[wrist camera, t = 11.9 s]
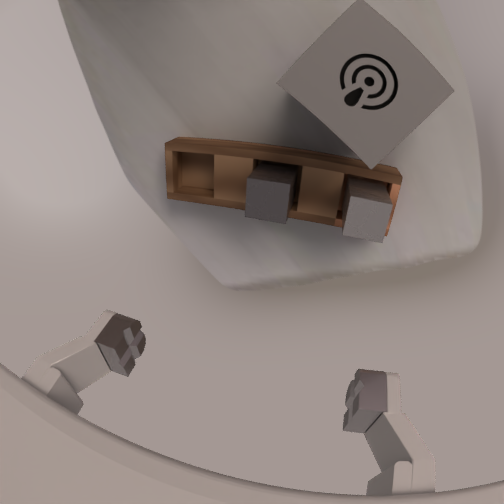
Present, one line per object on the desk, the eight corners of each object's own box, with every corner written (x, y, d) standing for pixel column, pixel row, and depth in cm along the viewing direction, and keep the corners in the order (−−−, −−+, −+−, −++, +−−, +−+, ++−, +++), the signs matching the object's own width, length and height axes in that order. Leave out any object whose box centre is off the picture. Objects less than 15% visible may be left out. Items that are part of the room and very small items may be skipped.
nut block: (347, 173, 32) (350, 196, 26) (382, 180, 31) (393, 204, 25) (341, 206, 34) (342, 235, 28) (375, 212, 33) (382, 243, 27)
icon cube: (361, 144, 31) (371, 169, 22) (292, 82, 29) (276, 83, 21) (421, 86, 25) (454, 90, 17) (352, 21, 23) (359, -3, 15)
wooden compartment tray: (178, 136, 35) (164, 143, 32) (396, 167, 31) (402, 177, 28) (180, 188, 39) (167, 198, 36) (383, 222, 35) (386, 236, 32)
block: (263, 159, 33) (247, 177, 28) (299, 164, 33) (290, 184, 27) (261, 191, 36) (244, 216, 30) (294, 197, 35) (285, 223, 29)
